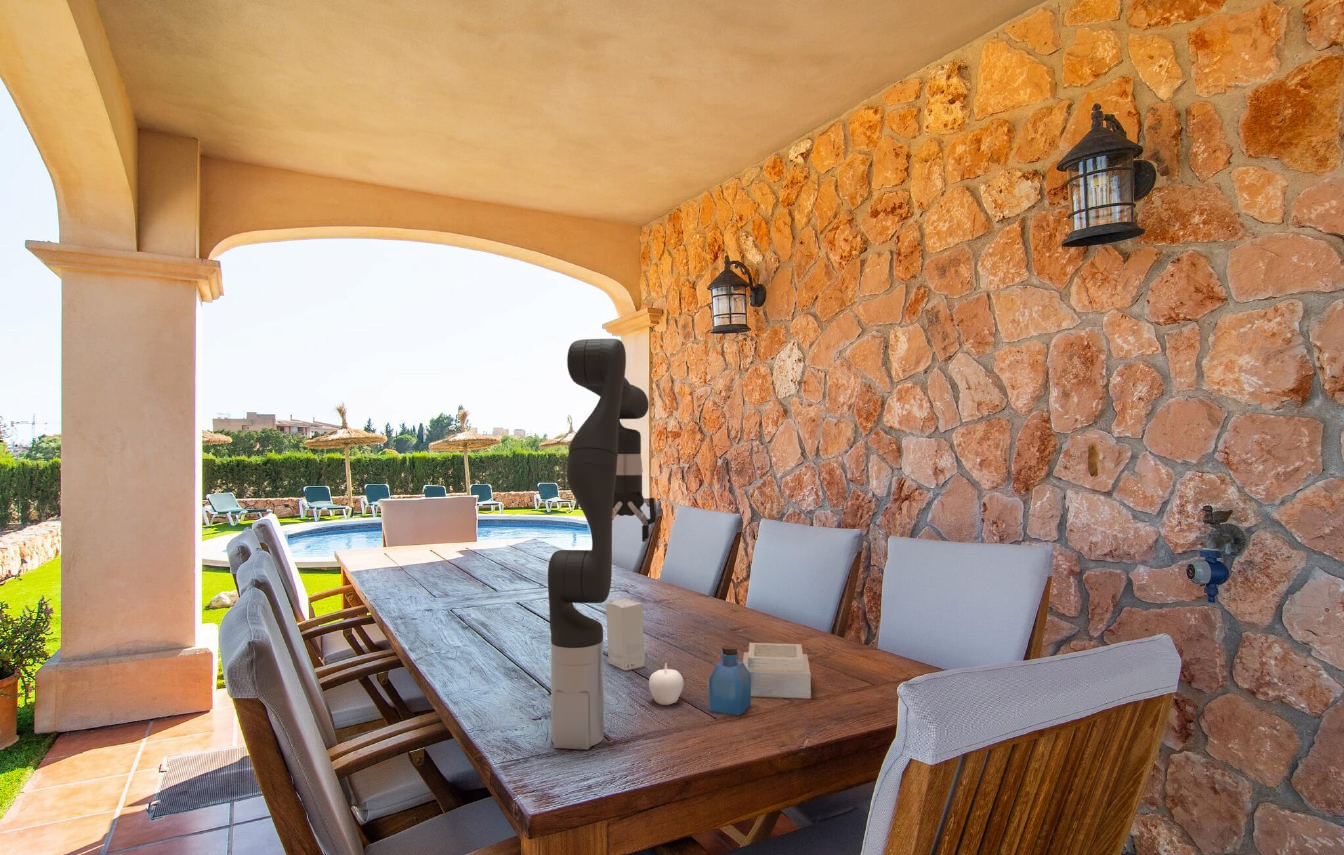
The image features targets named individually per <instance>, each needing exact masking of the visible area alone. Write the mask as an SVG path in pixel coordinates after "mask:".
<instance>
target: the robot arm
mask: <svg viewBox="0 0 1344 855" xmlns="http://www.w3.org/2000/svg"><path fill="white" fill-rule="evenodd" d="M566 363H567V364H566V365H567V370H568V374H569V377H570V379H571V380H572V381H573V382H574V383H575V384H576V385H577V386H580V387H582V388H584V389H587V390H588V391H590V392H592V393H594V394H596V395H597V396H599V400H598V402H597V403H596V406H595V407H594V409H593V410H592V412H591V413H590V415H589V416H588V417H587V418H586V420H585V421H584V422H583V423H582V425H581V426H580V427H579V429H578V430H577V432H575V435H574V436H573V438H572V439H571V441H570V444H569V447H568V448H569V449H568V456H567V466H566V468H567V469H566V481H567V483H568V487H569V489H570V491H571V493H572V495H573V497H574V499H575V500H576V502H577V504H578V505H579V508H580V509H581V511H582V513H583V515H584V517H585V519H586V522H587V524H588V527H589V529H590V534H591V543H592V544H591V549H559V550H556V551H554V552H553V553H552V555H551V556H550V559H549V563H548V568H547V589H548V590H547V592H548V605H549V608H548V609H549V610H548V611H549V628H550V629H549V630H550V677H551V678H550V693H551V694H550V703H551V704H550V707H551V708H550V709H551V710H550V711H551V712H550V715H551V716H550V717H551V720H550V721H551V728H550V729H551V731H550V732H551V734H550V735H551V736H550V737H551V743H552V744H553V748H554V749H566V750H567V749H569V750H570V749H571V750H589V749H590V748H591V747H592V746H595V745H598V744H600V743H601V742H602V741H603V740H604V737H605V736H604V735H605V733H604V732H605V731H604V730H605V728H604V723H605V722H604V721H605V720H604V717H605V716H604V715H605V714H604V709H605V707H604V705H605V704H604V698H605V697H604V627H603V625H602V623H601V622H600V621H598V620H596V619H595V618H593V617H592V618H591V617H590V616H587V615H585V614H584V613H582V612H580V611H579V610H578V609H576V607H575V606H574V604H573V603H575V604H601V603H605V601H607V599H608V597H609V595H610V592H611V585H612V578H613V577H612V576H613V575H612V573H613V572H612V569H613V568H612V567H613V521H614V519H615V518H616V517H617V515H618V516H621V517H623V516H629V517H633V516H636V517H637V519H638V520H639V521H640V522H641V524H642V526H641V541H642V542H644V543H645V542H647V540H648V539H649V538H650V525H652V524H654V523H656V522H657V521H658V518H657V517H658V516H657V500H656V498H655V497H654V496H653V497H648V498H647V497H646V498H645V497H644V496H643V473H644V472H643V469H644V468H643V461H642V435H641V432H640V431H639V430H637V429H635V428H634V429H632V428H628V427H625V426H623V424H622V422H621V420H640V419H642V418H643V417H645V416H646V414H647V413H648V410H649V399H648V396H647V394H646V393H645V391H644V390H643V389H641V388H640V387H638V386H636V385H633V384H631V383H630V382H629V380H628V379H627V378H626V377H625V376H626V367H627V354H626V347H625V345H624V343H623V341H622V340H621V339H617V338H589V339H588V338H587V339H585V338H584V339H578V340H575V341H573V342H572V343H571V344H570V346H569V348H568V351H567V359H566ZM644 504H645V505H646V507H647V508H649V518H648V517H647V516H646V514H645V513H644V511H643V510H642V506H644Z"/></svg>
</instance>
